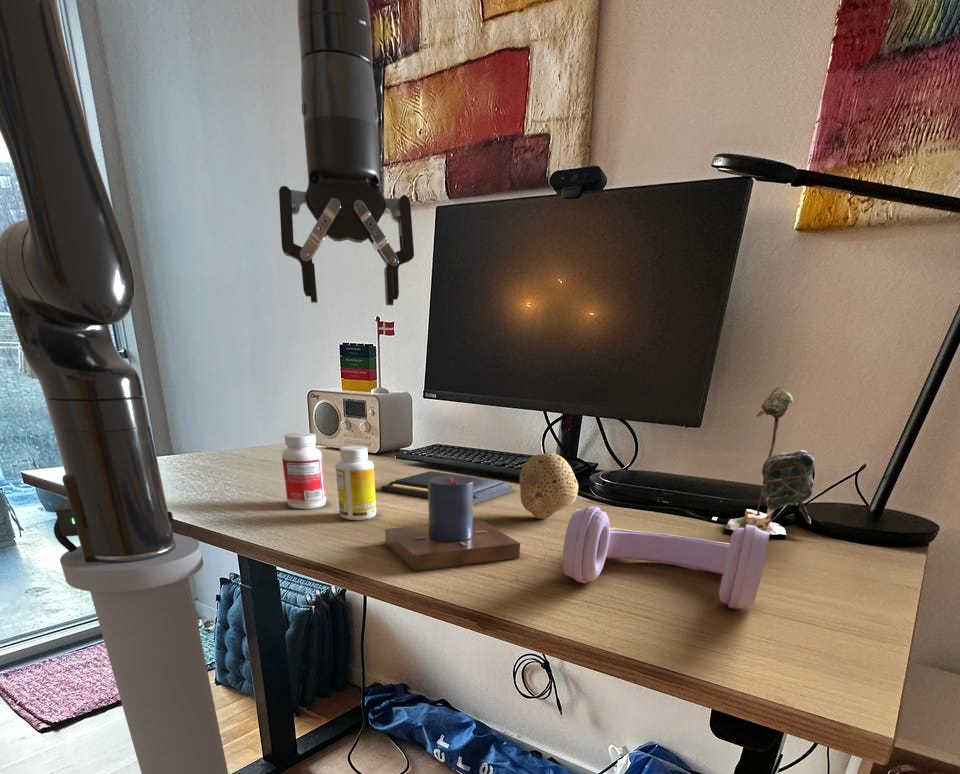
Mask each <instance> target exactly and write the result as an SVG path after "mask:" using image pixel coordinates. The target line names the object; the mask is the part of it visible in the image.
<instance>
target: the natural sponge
mask: <svg viewBox="0 0 960 774" xmlns="http://www.w3.org/2000/svg"><path fill="white" fill-rule="evenodd" d="M519 490H520V491H519V493H520V501H521V504H522V506H523V508H524V509H525V510H526V511H527V512H529V513H530V514H531V515H532V516H534V517H535V518H536V519H539V520H545V519H549V518H551V517H552V516H554V515H555V514H556V513H557V512H559V511H561V510H564V509H565V508H567V507H569V506H570V505H572V504H573V503H574V502H575V501H576V499H577V497H578V492H579V482H578V480H577V478H576V476H575V473H574V471H573V469H572V467H571V465H570V464H569V462H568V461H567V460H566V459H565V458H563V457H562V456H561V455H559V454H557V453H555V452H545V453H537V454H535V455H532V457H530V458H529V459H527V460H526V462H525V463H524V464H523V465H522V467H521V469H520V472H519Z"/></svg>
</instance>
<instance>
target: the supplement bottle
mask: <svg viewBox="0 0 960 774" xmlns="http://www.w3.org/2000/svg"><path fill="white" fill-rule="evenodd" d="M339 456H340V460H338V461H337V462H336V463H335V475H336V487H337V498H338V507H339V508H338V509H339V510H338V511H339V515H340V516H341V518H343V519H346V520H350V521H364V520H369V519H372V518H374V517H376V515H377V499H376V498H377V497H376V484H375V467H374V463H373V461H371V460H369V458H368V457H369V454H368V447H366V446H362V445H348V446H341V447H340V448H339Z"/></svg>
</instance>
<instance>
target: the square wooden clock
mask: <svg viewBox="0 0 960 774" xmlns="http://www.w3.org/2000/svg"><path fill="white" fill-rule="evenodd" d="M384 533H385V535H384V536H385V544H386V545H387V546H388V547H389V548H390V549H391V550H392V551H393V552H394V553H395V554H396V555H397V556H398V557H399V558H400V559H401V560H402V561H403V562H404V563H405V564H406V565H407V566H408V567H409V568H410V569H412V570H413V572H418V571H419V572H421V571H429V570H436V569H437V570H438V569H444V568H451V567H452V568H453V567H460V566H468V565H476V564H484V563H491V562H500V561H508V560H515V559H520V557H521V555H520V554H521V542H519V541H517V540H515V539H514V538H512V537H510V536H509V535H507V534H506V533H505V532H502V531H500V530H499V529H497V528H495V527H494V526H492V525H490V524H488V523H487V522H486V521H484V520H482V519H477V520H475V519H474V520H473V530H472V537H471V538H470V539H467V540H463V541H454V542H449V541H439V540H435V539H432V538H431V537H430V536H429V524H423V525H412V526H404V527H403V526H401V527H391V528H385V529H384Z"/></svg>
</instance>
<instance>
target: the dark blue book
mask: <svg viewBox="0 0 960 774" xmlns="http://www.w3.org/2000/svg"><path fill="white" fill-rule="evenodd" d="M439 476H460V477H466V478H470V479H472V480H473V506H475V505H476V504H480V503H483V502H486V501H488V500H491V499H494V498H497V497H499V496H502V495H506V494H508V493H510V492H513V485H511V484H508V483H506V482H503V481H502V480H497V479H491V478H485V477H484V478H482V477H474V476H469V475H462V474H455V473H449V472H448V473H447V472H439V471H432V470H431V471H426V472H422V473H418V474H417V473H416V474H413V475H409V476H407V477H403V478H398V479H395V480H392V481H391V482H389V483H388V484H384V485H381V486H380V489H381V491H382V492H388V493H394V494H400V495H407V496H412V497H418V498H426V499H428V480H429V479H430V478H433V477H439Z"/></svg>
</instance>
